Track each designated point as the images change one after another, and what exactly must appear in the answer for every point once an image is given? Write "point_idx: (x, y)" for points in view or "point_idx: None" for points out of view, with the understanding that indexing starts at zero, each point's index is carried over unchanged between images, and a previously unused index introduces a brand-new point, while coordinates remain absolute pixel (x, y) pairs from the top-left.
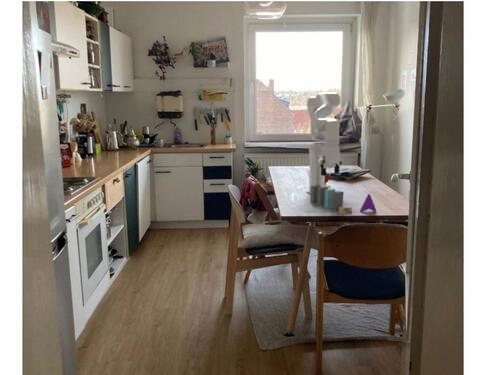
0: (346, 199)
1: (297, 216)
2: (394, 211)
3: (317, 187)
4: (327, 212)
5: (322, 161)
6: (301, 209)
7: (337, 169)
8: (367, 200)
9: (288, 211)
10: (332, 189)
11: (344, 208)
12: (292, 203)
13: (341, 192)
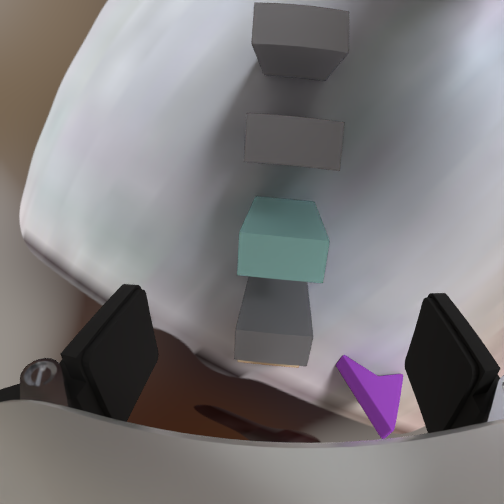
0: (501, 140)
1: (48, 260)
2: None
3: (303, 51)
4: (193, 287)
5: (18, 442)
6: (109, 168)
7: (428, 402)
8: (369, 413)
9: (46, 172)
10: (302, 266)
11: (248, 361)
12: (148, 27)
13: (286, 362)
